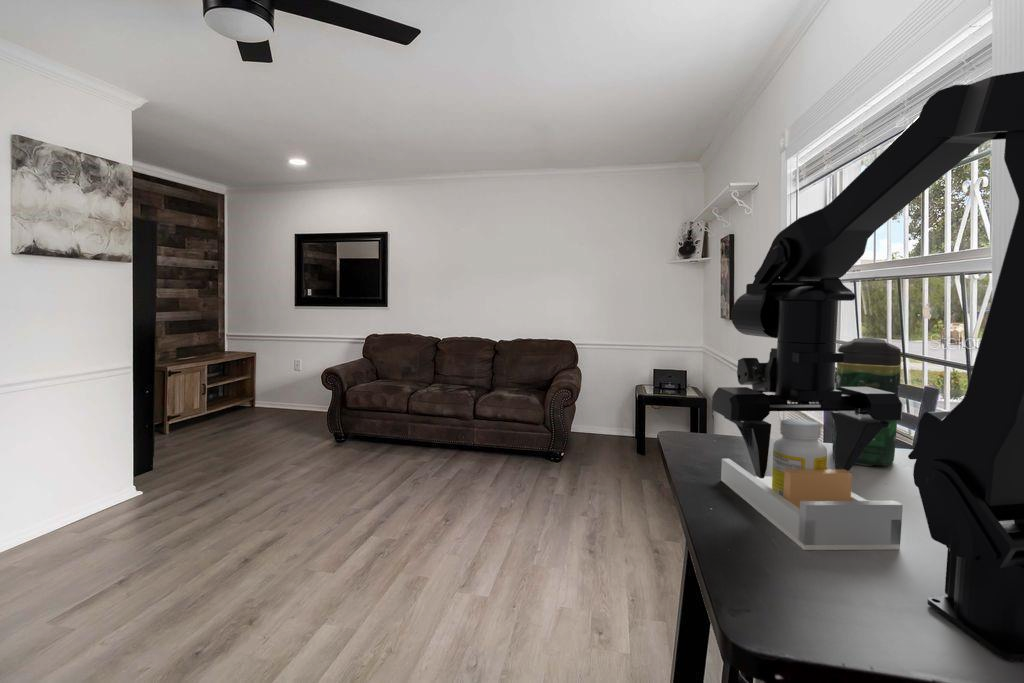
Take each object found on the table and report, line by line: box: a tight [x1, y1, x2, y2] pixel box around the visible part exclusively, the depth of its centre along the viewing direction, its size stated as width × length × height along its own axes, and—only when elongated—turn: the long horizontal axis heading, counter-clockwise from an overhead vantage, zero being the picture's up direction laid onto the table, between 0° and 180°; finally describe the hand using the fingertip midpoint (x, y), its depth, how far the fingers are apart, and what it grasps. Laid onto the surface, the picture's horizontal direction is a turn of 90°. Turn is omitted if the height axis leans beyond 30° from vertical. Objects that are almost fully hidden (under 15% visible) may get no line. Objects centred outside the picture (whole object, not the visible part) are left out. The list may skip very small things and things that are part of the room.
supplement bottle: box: [771, 418, 828, 497], centre depth 57 cm, size 5×5×10 cm
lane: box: [720, 458, 904, 551], centre depth 58 cm, size 19×9×4 cm, turn 0°
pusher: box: [783, 468, 853, 509], centre depth 54 cm, size 1×7×5 cm, turn 90°
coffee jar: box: [832, 337, 902, 467], centre depth 76 cm, size 10×8×19 cm
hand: (799, 477), depth 57 cm, fingers open, 9 cm apart
